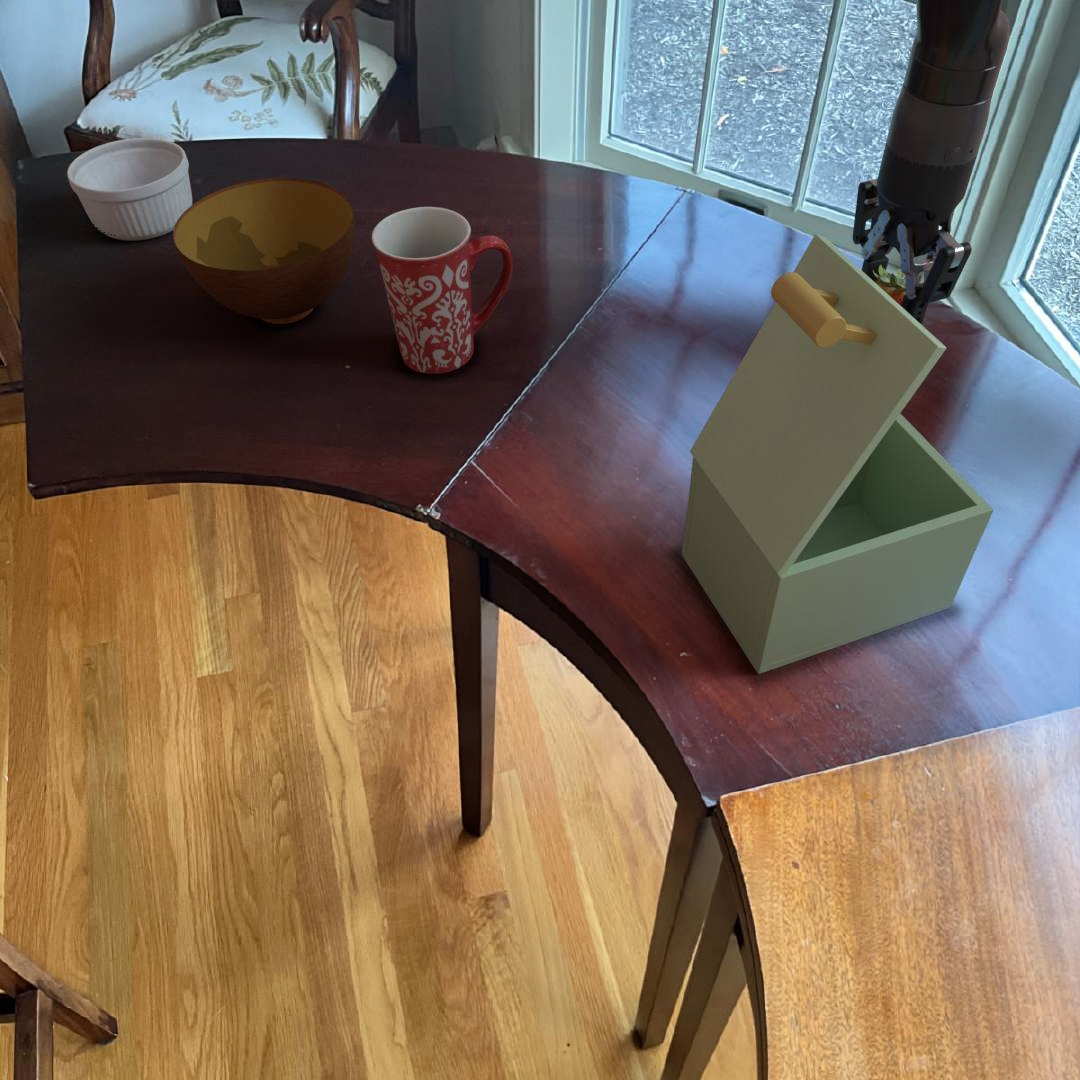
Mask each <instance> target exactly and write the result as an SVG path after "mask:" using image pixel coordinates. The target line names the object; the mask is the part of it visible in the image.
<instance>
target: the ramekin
mask: <svg viewBox="0 0 1080 1080" xmlns="http://www.w3.org/2000/svg"><path fill="white" fill-rule="evenodd" d="M189 167H190V165H189V160H188V156H187V154H186V152H185V149H183V148H182V146H181V145H179V144H177V143H175V142H173V141H170V140H166V139H162V138H157V137H156V138H155V137H133V138H124V139H119V140H115V141H110V142H106V143H103V144H100V145H98V146H95V147H93V148H91V149H88V150H86V151H85V152H83V153H82V154H81V155H79V156H77V157H76V158H75V159H74V160H73V161H72V162H71V163H70V164H69V166H68V168H67V171H66V176H67V180H68V182H69V186H70V187H71V189H72V190H73V192H74V193H75V194H76V195H77V197H78V199H79V201H80V203H81V205H82V207H83V209H84V211H85V213H86V214H87V216H88V218H89V220H90V222H91V224H92V225H93V224H94V225H93V226H94V227H95V228H96V227H97V228H98V229H97V228H96V229H97V230H98V231H99V232H100V233H102V234H104V235H105V236H107V237H110V238H112V239H114V240H120V241H129V242H130V241H132V242H133V241H134V242H135V241H145V240H150V239H155V238H158V237H162V236H164V235H166V234H169V233H172V232H173V230H174V227H175V224H176V222H177V220H178V219H179V218H180V216H181V215H182V214H183V213H184V212H185V211H186V210H187V209H188V208H189V207H190V206H192V205H193V195H192V193H193V192H192V187H191V182H190V174H189ZM100 230H101V231H100ZM103 232H105V233H103ZM110 234H112V235H110ZM114 235H116V236H114Z"/></svg>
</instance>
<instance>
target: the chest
mask: <svg viewBox="0 0 1080 1080" xmlns="http://www.w3.org/2000/svg"><path fill="white" fill-rule="evenodd" d="M691 463H692V464H691V473H690V480H689V489H688V498H687V504H686V505H687V506H686V515H685V523H684V531H683V541H682V549H681V557H682V558H683V560H684V561H685V563H686V565H687V566H688V568H690V570H691V572H692V573H693V575H694V577H695V578H696V580H697V581H698V583H699V585H700V586H701V588H702V589H703V591H704V592H705V594H706V596H707V597H708V599H709V600H710V602H711V603H712V605H713V606H714V608H715V609H716V611H717V612H718V614H719V616H720V617H721V620H723V622H724V623H725V625H726V627H727V629H729V631H730V633H731V635H732V636H733V637H734V639H735V640H736V642H737V644H738V645H739V647H740V648H741V650H742V652H743V653H744V655H745V656H746V658H747V659H748V661H749V663H750V664H751V666H752V667H753V668H754V671H756V673H757V675H761V674H763V673H766V672H769V671H772V670H775V669H778V668H781V667H784V666H786V665H789V664H790V665H791V664H793V663H795V662H798V661H802V660H803V659H806V658H809V657H812V656H815V655H818V654H821V653H824V652H827V651H830V650H834V649H835V648H839V647H841V646H845V645H847V644H850V643H853V642H857V641H858V640H862V639H865V638H868V637H870V636H873V635H875V634H879V633H881V632H884V631H885V632H886V631H887V630H890V629H894V628H896V627H899V626H902V625H905V624H908V623H911V622H914V621H916V620H920V619H922V618H926V617H928V616H931V615H935V614H937V613H940V612H943V611H945V610H946V611H947V610H949V609H951V608H952V605H953V603H954V601H955V599H956V596H957V594H958V592H959V589H960V587H961V585H962V582H963V580H964V578H965V576H966V573H967V570H968V569H969V567H970V564H971V563H972V559H973V557H974V555H975V553H976V551H977V548H978V546H979V544H980V542H981V540H982V537H983V535H984V534H985V533H984V532H985V530H986V528H987V526H988V523H989V521H990V519H991V517H992V514H993V512H994V511H995V509H994V508H993V507H992V506H991V505H990V504H989V503H988V502H987V501H986V500H985V499H984V498H983V497H982V496H981V495H980V494H979V493H978V491H976V490H975V489H974V488H973V486H972V485H970V483H968V481H967V480H966V479H965V478H964V477H963V476H962V475H961V474H960V473H959V472H958V471H957V470H956V469H955V468H954V467H953V466H952V465H951V464H950V463H949V462H948V461H947V460H946V459H945V458H944V456H942V454H940V453H939V451H937V449H935V447H933V445H932V444H930V442H929V441H928V440H927V439H926V438H925V437H924V436H923V435H922V434H921V433H920V432H919V431H918V430H917V429H916V428H915V427H914V426H913V425H912V424H911V422H909V420H907V418H905V417H904V416H903V414H902V413H900V414H899V416H898V417H897V418H896V420H895V421H894V423H893V424H892V425H891V427H890V428H889V430H888V431H887V432H886V434H885V435H884V437H883V438H882V439H881V441H880V442H879V444H878V445H877V446H876V448H875V449H874V451H873V452H872V453H871V455H870V456H869V458H868V459H867V460H866V462H865V463H864V465H863V466H862V467H861V469H860V470H859V472H858V473H857V474H856V476H855V477H854V479H853V480H852V481H851V483H850V484H849V486H848V487H847V488H846V490H845V491H844V493H843V494H842V495H841V497H840V498H839V500H838V501H837V502H836V504H835V505H834V507H833V508H832V509H831V511H830V512H829V514H828V515H827V516H826V518H825V519H824V521H823V522H822V523H821V525H820V526H819V528H818V529H817V530H816V532H815V533H814V535H813V536H812V537H811V539H810V540H809V542H808V543H807V545H806V546H805V547H804V549H803V550H802V552H801V553H800V554H799V556H798V557H797V559H796V560H795V561H794V563H793V564H792V566H791V567H790V568H789V570H788V571H787V573H785V574H783V573H777V572H776V571H775V570H774V568H773V567H772V565H771V564H770V563H769V561H768V560H767V558H766V557H765V556H764V554H763V553H762V551H761V550H760V549H759V547H758V546H757V545H756V543H755V542H754V540H753V539H752V538H751V536H750V535H749V533H748V532H747V531H746V529H745V528H744V526H743V525H742V524H741V522H740V521H739V519H738V518H737V517H736V515H735V514H734V513H733V511H732V510H731V508H730V507H729V506H728V504H727V503H726V501H725V500H724V499H723V497H722V496H721V494H720V493H719V492H718V490H717V489H716V487H715V486H714V485H713V483H712V482H711V480H710V479H709V478H708V476H707V475H706V474H705V472H704V471H703V469H702V468H701V467H700V465H699V464H698V462H697V461H696V460H695V458H694V457H693V456H692V462H691Z"/></svg>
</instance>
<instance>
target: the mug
mask: <svg viewBox="0 0 1080 1080" xmlns="http://www.w3.org/2000/svg"><path fill="white" fill-rule="evenodd" d="M471 235H472V228H471V224H470V223H469V222H468V220H467V219H466V218H465V216H463V215H462V214H461V213H459V212H456V211H455V210H451V209H448V208H445V207H437V206H420V207H412V208H407V209H403V210H399V211H397V212H394V213H392V214H390V215H388V216H386V217H384V218H382V220H381V221H379V222H378V223H377V224H376V226H374V228H373V229H372V233H371V243H372V245H373V248H374V249H375V250H376V255H377V258H378V259H377V260H378V263H379V267H380V272H381V277H382V280H383V284H384V288H385V294H386V297H387V301H388V305H389V310H390V314H391V318H392V323H393V326H394V330H395V331H394V332H395V334H396V339H397V343H398V347H399V353H400V355H401V359H402V361H403V363H404V364H405V365H406V366H407V368H409V369H410V370H413V371H415V372H418V373H421V374H426V375H439V374H440V375H441V374H447V373H450V372H453V371H455V370H457V369H459V368H461V367H463V366H465V365H466V364H467V363H468V362H469V361H470V360H471V358H472V357H473V355H474V349H475V343H474V337H475V335H476V333H478V331H479V330H480V329H481V327H482V326H483V325H484V324H485V323H486V322H487V320H488V319H489V318H490V316H492V314H493V312H494V311H495V310H496V309H497V307H498V305H500V302H501V301H502V300H503V297H504V296H505V294H506V292H507V290H508V288H509V285H510V283H511V280H512V276H513V268H514V262H513V255H512V252H511V250H510V248H509V246H508V244H507V243H506V242H505V241H504V240H503V239H502V238H500V237H499V236H496V235H483V236H480V237H478V238H476V239H474V240H472V241H470V239H471ZM489 250H496V251H499V252H500V253H501V255H502V269H501V273H500V275H499V278H498V280H497V282H496V283H495V286H494V287H493V289H492V290H491V292H490V294H489V295H488V296H487V298H486V299H485V301H484V302H483V304H482V305H480V307H479V308H478V309H477V310H476V311H475V312H473V305H472V304H473V302H472V301H473V300H472V278H471V277H472V276H471V272H472V271H473V270H474V269H475V267H476V264H477V262H478V260H479V258H480V256H481V255H482V254H484V253H485V252H487V251H489Z"/></svg>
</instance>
